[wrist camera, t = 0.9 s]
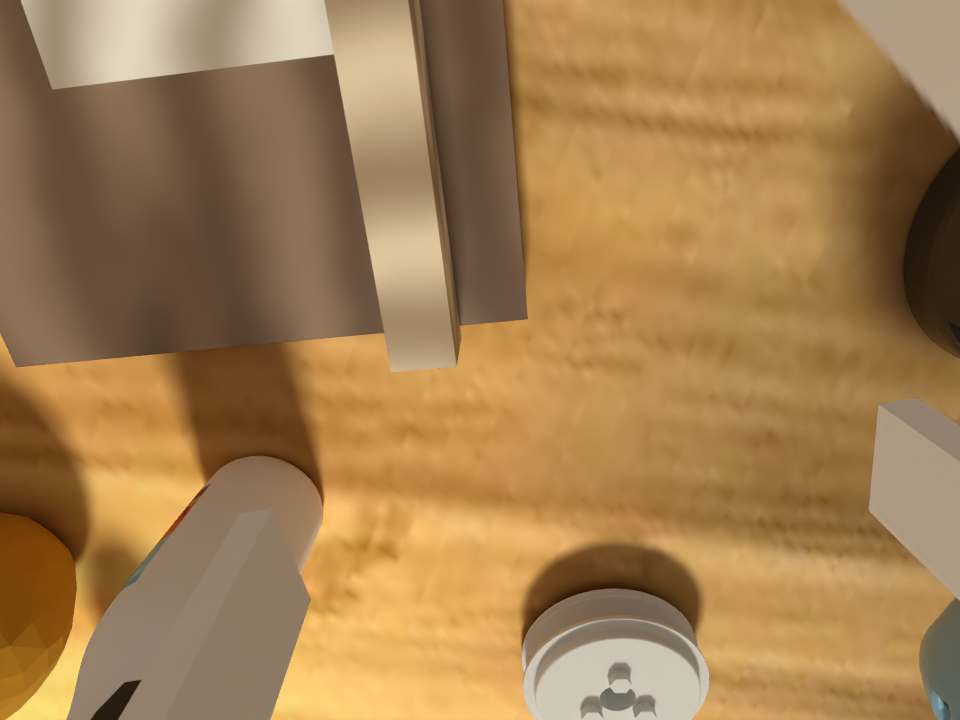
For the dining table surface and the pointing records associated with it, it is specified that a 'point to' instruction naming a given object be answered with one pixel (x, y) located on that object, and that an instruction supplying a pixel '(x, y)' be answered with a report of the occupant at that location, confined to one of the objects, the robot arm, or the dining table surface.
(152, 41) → the stool seat
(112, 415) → the dining table surface
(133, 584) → the milk bottle
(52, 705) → the dining table surface
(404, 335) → the folding leg
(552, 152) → the dining table surface
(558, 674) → the lid
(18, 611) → the apple
